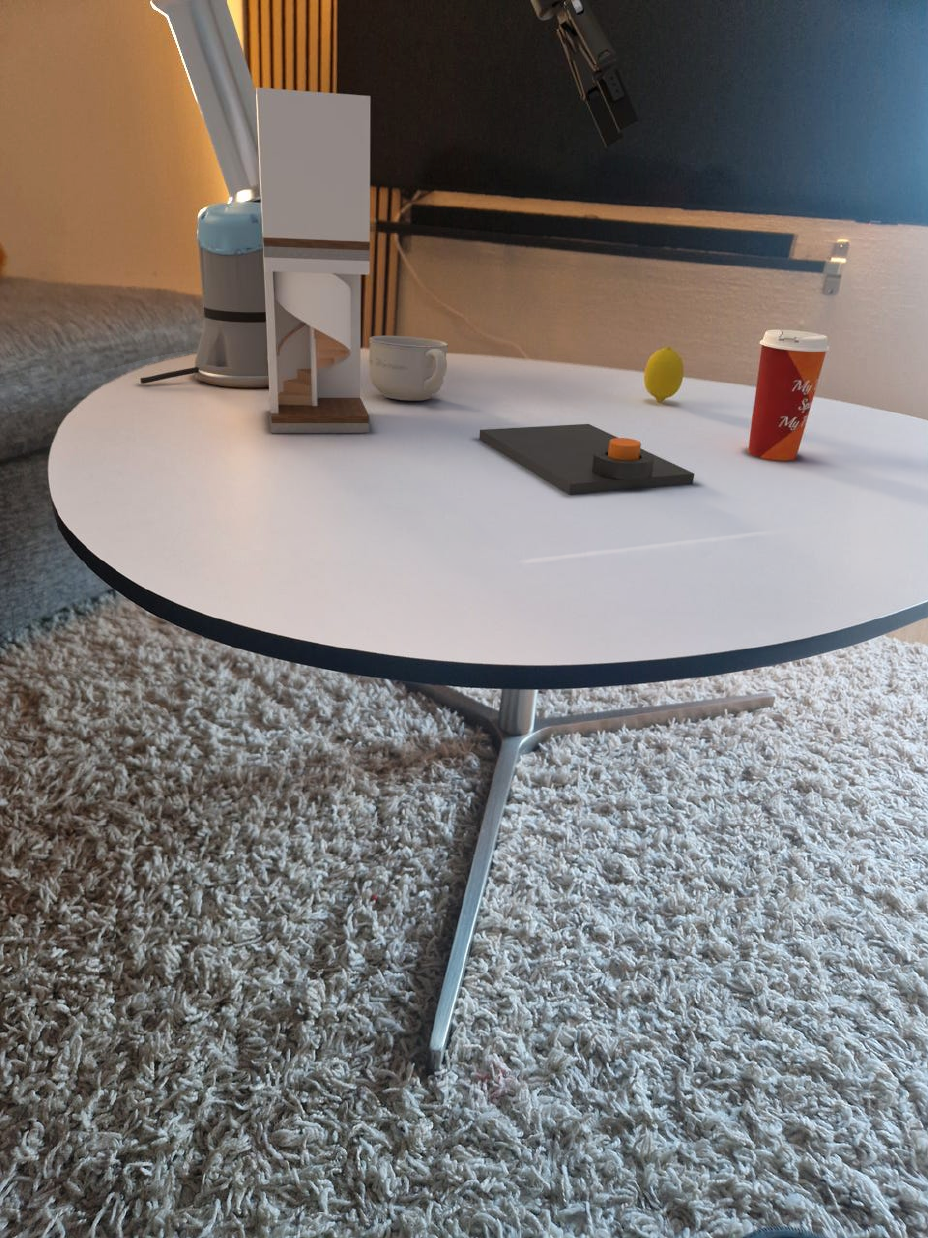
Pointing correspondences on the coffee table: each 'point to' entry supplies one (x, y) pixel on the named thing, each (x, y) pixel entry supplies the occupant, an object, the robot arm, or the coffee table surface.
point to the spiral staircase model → (314, 255)
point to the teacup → (407, 366)
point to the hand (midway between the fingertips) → (621, 135)
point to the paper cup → (785, 391)
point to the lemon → (663, 374)
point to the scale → (582, 459)
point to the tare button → (624, 449)
